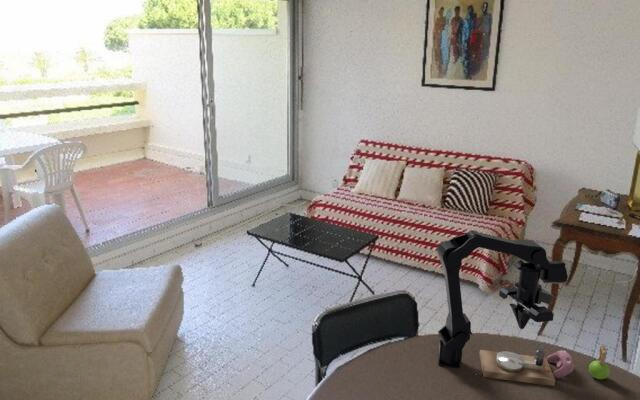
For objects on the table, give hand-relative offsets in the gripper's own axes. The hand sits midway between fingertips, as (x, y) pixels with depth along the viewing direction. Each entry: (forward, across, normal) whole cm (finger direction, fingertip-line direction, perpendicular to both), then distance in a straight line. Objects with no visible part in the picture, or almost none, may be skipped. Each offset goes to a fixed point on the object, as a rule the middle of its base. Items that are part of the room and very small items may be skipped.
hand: (521, 328), depth 157 cm
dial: (+9, -5, +3) cm, 11 cm away
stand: (+12, -4, +3) cm, 13 cm away
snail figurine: (+12, -14, -19) cm, 26 cm away
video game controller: (+12, -7, -10) cm, 17 cm away
